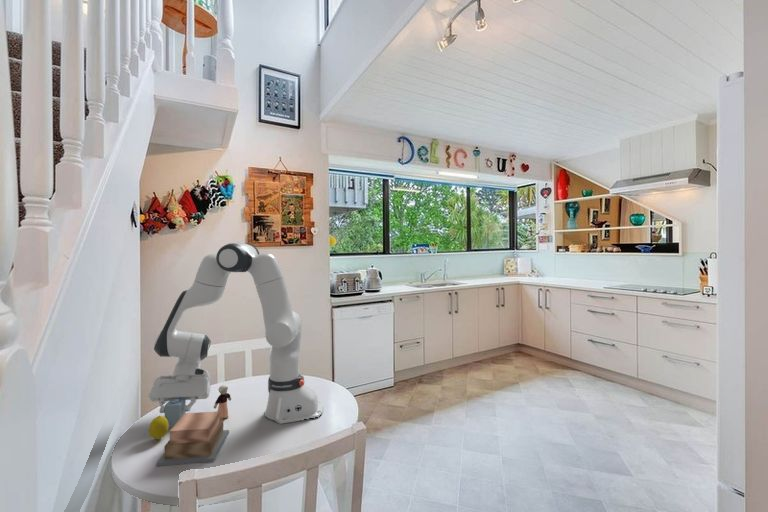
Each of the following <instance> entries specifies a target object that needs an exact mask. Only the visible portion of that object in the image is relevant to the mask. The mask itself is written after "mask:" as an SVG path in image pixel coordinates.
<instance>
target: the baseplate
mask: <svg viewBox="0 0 768 512" xmlns="http://www.w3.org/2000/svg"><path fill="white" fill-rule="evenodd" d="M229 434H230V430H229V429H223V434H222V436H221V438H220V440H219V441H218V443H217V445H216V447H215V449H214V450H213V452H212V454H211V456H200V457H187V458H174V459H164V453H162V455H161V457H160V458H159V459H158V460H157V462H156V467H163V466H164V467H165V466H174V465H175V466H177V465H185V464H184V463H190V464H200V463H214V462H215V461H216V459H217V457H218V455H219V454H220V451H221V449H222V447H223V446H224V443H225V441H226V440H227V438H228V436H229Z"/></svg>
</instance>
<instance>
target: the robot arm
mask: <svg viewBox="0 0 768 512" xmlns="http://www.w3.org/2000/svg"><path fill="white" fill-rule="evenodd" d="M246 272H248V273H249V274H250V275H251V277H252V279H253V282H254V285H255V289H256V292H257V295H258V298H259V301H260V304H261V311H262V316H263V322H264V323H263V324H264V328H265V329H264V330H265V334H264V335H265V336H264V337H265V339H266V342H267V343H268V344H269V346H271V352H270V357H269V377H268V380H267V391H268V399H267V402H266V403H267V405H266V409H265V411H264V415H265V417H266V418H267V419H269V420H271V421H275V422H276V423H277V424H281V425H282V424H288V423H293V422H300V420H301V421H305V420H304V419H307V420H310V419H309V418H314V419H316V418H315V417H318V418H320V417H321V416H322V415H321V413H322V411H323V412H324V403H323V402H322V401H321V400H320V399H318V395H317V393H316V391H315V389H314V388H311V387H310V386H308V385H307V384H306V383H305V377H304V374H302V375H301V374H300V363H299V362H300V351H301V350H300V349H301V342H302V341H301V338H302V326H303V325H302V324H303V323H302V319H301V316H300V314H299V313H298V312H296V311H294V310H292V309H293V308H292V304H291V295H290V292H289V289H288V285H287V283H286V279H285V276H284V273H283V271H282V268H281V265H280V264H279V262H278V260H277V258H276V256H275V255H273V254H272V253H269V252H267V253H266V252H265V253H264V252H263V253H260V252H259V249H258V248H257V247H256V246H255V245H253V244H251V243H248V242H247V243H243V242H234V243H232V242H231V243H227V244H225V245H223V246H221V247H220V248H219V249H218V251H217V253H212V254H206V255H205V256H203V258H202V260H201V262H200V264H199V266H198V269H197V272H196V274H195V277H194V278H195V279H194V281H193V283H192V285H191V286H190V287H189V288H188V289H186V290H183V291H182V292H181V293H180V294H179V296H178V298H177V299H176V301H175V303H174V306H173V307H172V310H171V311H170V313H169V316H168V318H167V320H166V321H165V324H164V326H163V328H162V329H161V331H160V333H158V335H157V337H156V338H155V341H154V344H153V350H154V352H155V353H156V354H157V355H158V357H162V358H163V357H165V358H171V357H172V358H173V357H174V358H178V360H177V363H176V364H175V367H174V369H173V373H172V375H160V376H159V377H157V378H155V380H154V381H153V385H152V387H151V389H150V392H149V393H148V394H149V395H148V398H149V400H150V401H151V402H153V403H154V402H156V403H157V402H158V403H159V406H160V408H159V414H165V405H166V403H167V402H169V401H170V400H171V399H175V398H179V399H186V401H188V400H189V401H190V402H189V403H188V404H187V405H186V406H185V409H184V411H185V412H186V413H190V411H191V408H192V407H193V406H194V405H195V403H196V402H197V400H206V399H208V398H209V397H210V394H211V382H210V381H211V375H210V373H209V371H208V370H207V369H203V368H201V363H202V361H203V360H205V358H207V357H208V352H209V349H210V347H211V342H212V341H211V340H210V338H209V336H208V335H207V334H204V333H198V332H197V333H196V332H191V331H190V332H189V331H182V330H181V331H180V330H177V326H178V324H179V323H180V320H181V318H182V316H183V314H184V313H185V312H186V311H188V310H190V309H193V308H197V307H203V306H208V305H211V304H214V303H216V302H218V301H220V299H221V298H222V297H223V294H224V292H225V288H226V286H227V283H228V282H227V281H228V278H229V276H230V274H231V273H246ZM318 402H322V403H318ZM319 412H320V413H319ZM322 414H323V413H322ZM320 415H321V416H320ZM319 416H320V417H319Z"/></svg>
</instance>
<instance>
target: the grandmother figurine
mask: <svg viewBox="0 0 768 512" xmlns="http://www.w3.org/2000/svg"><path fill="white" fill-rule="evenodd" d="M228 390H229V387H228V385H225V384H221V386H219V388H218V392H219V393H220V394H219V395H218V397H217V399H216V400H215V402H214V405H213V409H217V411H219V421H223V422H224V419H227V418H229V408H228V401H231V400H232V397H231V394H230V393H229V392H228Z"/></svg>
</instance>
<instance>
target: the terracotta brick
mask: <svg viewBox="0 0 768 512" xmlns="http://www.w3.org/2000/svg"><path fill="white" fill-rule="evenodd" d="M223 430H224V420H223V421H219V411H218V410H216V411H203V412H200V411H199V412H186V413H184V415H183V416H182V417H181V418H180V419H179V421H178V422H177V423H176V424H175V425H174V426H173V427H171V429H170V430H169V440H168V441H167V443H166V444H165V445H164V446H163V447H164V450H163V451H164V453H163V454H164V459H174V458H187V457H200V456H211V454H212V452H213V450H214V449H215V447H216V445H217V443H218V441H219V440H220V438H221V436H222V434H223Z"/></svg>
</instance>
